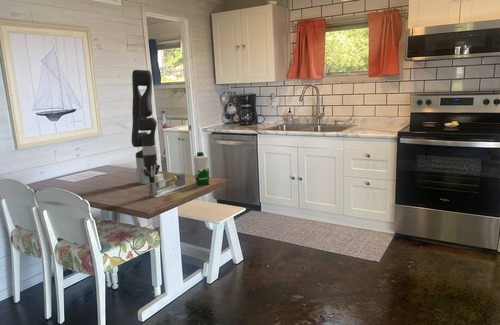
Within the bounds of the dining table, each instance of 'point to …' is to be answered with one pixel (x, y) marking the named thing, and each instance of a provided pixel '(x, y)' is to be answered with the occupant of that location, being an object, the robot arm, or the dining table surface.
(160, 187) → the cream stepped block
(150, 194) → the cord rig
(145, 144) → the robot arm
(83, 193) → the dining table surface
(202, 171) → the milk carton
